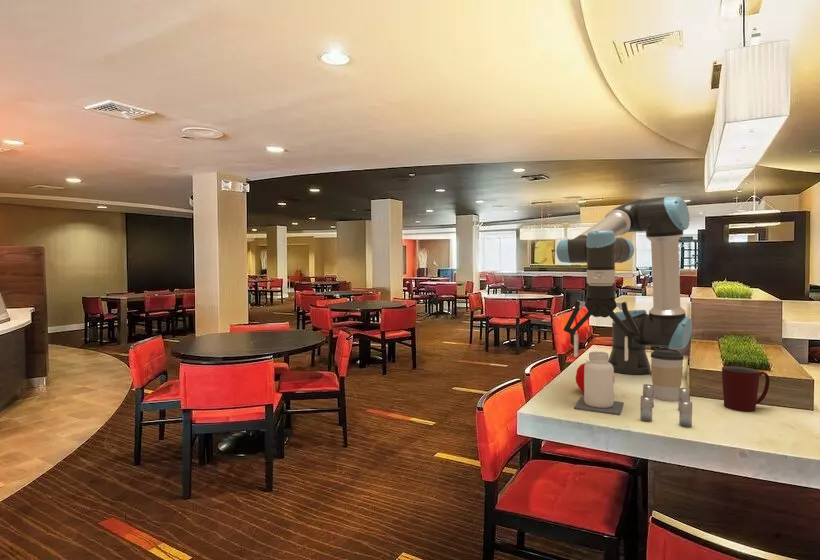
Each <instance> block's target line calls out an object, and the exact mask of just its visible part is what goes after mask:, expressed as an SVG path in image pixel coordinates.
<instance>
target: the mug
mask: <svg viewBox="0 0 820 560" xmlns="http://www.w3.org/2000/svg"><path fill="white" fill-rule="evenodd" d="M761 376H764V377H765V384H764V387H763V392H762V393H761V395H760V396H759V398H758V393H759V386H760V377H761ZM721 378H722V379H721V382H722V393H723V394H722V395H723V406H724V407H725V408H727V409H730V410H734V411H738V412H739V411H740V412H755V411H756V408H757V405H758V404H760V403H762V402H763V401H764V399H766V396H767V395H768V391H769V388H770V377H769V374H768V373H767V372H765V371H760V370H758V369H755V368H751V367H744V366H735V365H733V366H732V365H728V366H727V365H726V366H722V367H721Z"/></svg>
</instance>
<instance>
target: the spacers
mask: <svg viewBox="0 0 820 560" xmlns="http://www.w3.org/2000/svg"><path fill="white" fill-rule="evenodd" d="M677 401H678V403H677V404H678V405H677V408H678V409H677V410H678V411H679V413H678V414H679V416H678V417H679V418H678V425H679V427H683V428H692V427H693V426H692V425H693V402H692V401H691V389H690V388H687V387H686V388H685V387H680V388H679V399H678V400H677ZM654 404H655V397H654V385H653V384H648V383H647V384H646V383H644V384H643V385H642V395H641V396H640V415H639V416H640V421H642V422H648V423H651V422H652V421H653V408H654V407H655V405H654Z"/></svg>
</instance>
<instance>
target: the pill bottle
mask: <svg viewBox="0 0 820 560" xmlns="http://www.w3.org/2000/svg"><path fill="white" fill-rule="evenodd" d="M609 357H610V355H609V353H608V352H604V351H590V352H588V360H587V361H586V362H585V366H584V392H583V394H584V396H583V397H584V402H585V404H587V405H589V406H592V407H597V408H608V407H612V406H613V402H614V401H615V400H614V399H615V398H614V395H615V394H614V393H615V392H614V391H615V390H614V387H615V386H614V384H615V372H614V368H613V365H612V364H611V363H609V362H608V361H609Z"/></svg>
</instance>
